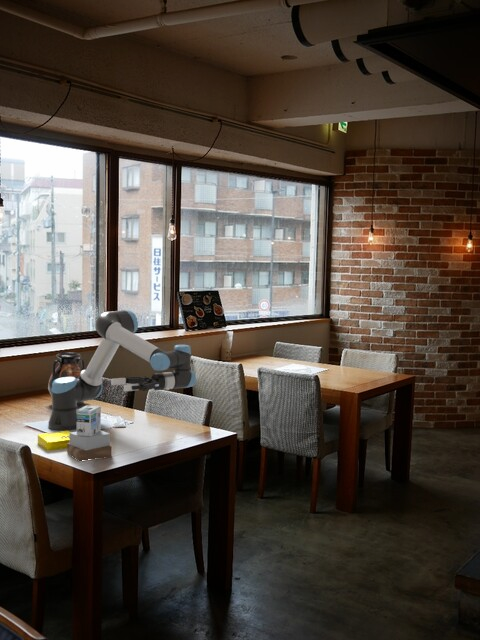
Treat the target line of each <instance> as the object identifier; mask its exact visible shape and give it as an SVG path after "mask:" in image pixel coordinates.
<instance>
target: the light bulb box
mask: <svg viewBox="0 0 480 640" xmlns="http://www.w3.org/2000/svg"><path fill="white" fill-rule="evenodd" d="M101 408H102V407H101V406H99V405H90V404H89V405H87V404H86V405H84V406H82V407H81V408H79V409H78V408H77V428H76V431H77V435H79V436H90V437H91V436H93V435H94V434H96V433H98V432H99V431H102V430H101V429H102V428H101V423H102V422H101V417H102V415H101V414H102V413H101V411H102V410H101Z"/></svg>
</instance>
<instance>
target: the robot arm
mask: <svg viewBox="0 0 480 640" xmlns="http://www.w3.org/2000/svg"><path fill="white" fill-rule="evenodd" d="M138 327H139V322H138V317H137V316H136V314H135V313H134V312H133V311H132V310H126V309H121V310H115V311H113V310H112V311H104V312H102V313H101V314H99V315H98V317H97V318H96V321H95V330H96V332H97V334H98V335H99V336H100V337H102V339H101V341H100V343H99V344H98V347H97V348H96V350H95V352H94V354H93V356H92V357H91V359H90V360H89V363H88V365H87V367H86V369H84V370H82V371H81V373H80V375H79V376H78V378H77V379H76V378H75V377H62V378H58V379H56V380H54V381H53V383H52V396H51V402H52V403H51V414H50V417H49V419H48V422H47V423H48V426H47V427H48V428H49V429H51V430H55V431H70V430H75V429H76V430H77V410H78V406H77V403H78V402H82V401H84V402H86V401H87V402H88V401H92V400H94V399H97V398H98V397H99V396H100V395H101V394H102V393H103V388H104V387H103V378H102V377H103V376H104V373H105V372H106V370H107V368H108V366H109V365H110V363H111V361H112V360H113V358H114V356H115V354H116V352H117V350H118V349H119V347H120V346H121V347H123V348H124V349H126V350H128V351H130V352H131V353H133V354H135V355H136V356H138V357H140V358H141V359H143V360H145V361H147V362H148V363H150V364H149V365H150V366H151V368H152V369H153V371H156V372H154V373H153V374H152V376H151V377H149V376H123V377H118V378H117V377H116V378H110V385H111V386H118V385H119V386H120V385H123V392H133V391H134V392H135V391H142V392H145V391H150V390H154V391H162V390H166V391H169V390H173V389H186V388H187V389H188V388H190V387H194V386H195V384H196V382H197V378H196V372H194V370H191V363H192V362H191V361H192V360H191V359H192V353H191V351H192V350H191V349H192V348H191V346H190V345H188V344H176V345H174V347H173V350H170V351H164V350H163V349H161V348H159V347H157V346H156V345H155V344H152V343H151V342H149V341H148V340H145V339H144V338H142V337H140V336H139V335H137V334H135V333H136V332H137V330H138ZM171 369H173V371H167V370H171ZM157 371H158V372H157ZM159 371H160V372H159ZM162 371H167V372H162Z"/></svg>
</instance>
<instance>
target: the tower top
mask: <svg viewBox="0 0 480 640" xmlns="http://www.w3.org/2000/svg"><path fill="white" fill-rule="evenodd" d="M70 432H71V433H70V445H72V446H75V447H78V448H80V449H83V450H85V451H86V450H90V449H95V448H100V447H104V446H109V445H110V446H111V434H110V433H109V432H106V431H104V430H101V431H99V432H98V433H96V434H94V435H93V436H91V437H90V436H79V435H77V430H76V431H73V432H72V431H70Z"/></svg>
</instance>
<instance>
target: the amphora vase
mask: <svg viewBox="0 0 480 640" xmlns="http://www.w3.org/2000/svg"><path fill="white" fill-rule="evenodd" d="M55 356H56V357H57V358H58V359H55V360H54V361H53V363H52V366H51V374H50V377H49V380H48V385H47V386H48V387H47V389H48V392H49V394H50V396H51V397H52V383H53V381H54V380H56V379H58V378H62V377H75V378H76V379H77V378H78V376H79V375H80V373H81V371H82V370H85V360H84V359H83V358H82V357H81V354H80V353H77V352H60V353H57V354H56V355H55ZM79 361H80V364H81V367H80V366H79ZM57 363H58V366H57V367H56V365H57ZM84 403H85V401H82V402H78V403H77V407H80V406H81V405H83V404H84Z"/></svg>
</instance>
